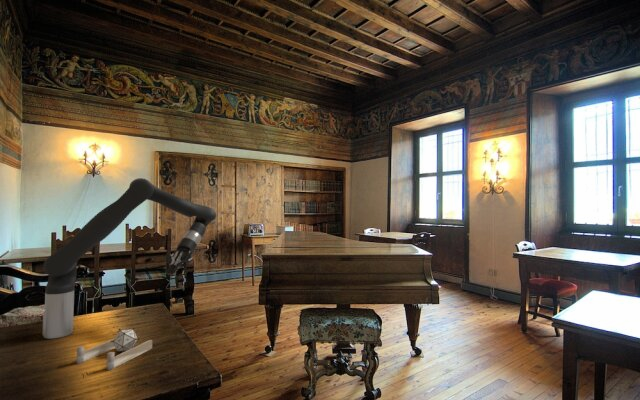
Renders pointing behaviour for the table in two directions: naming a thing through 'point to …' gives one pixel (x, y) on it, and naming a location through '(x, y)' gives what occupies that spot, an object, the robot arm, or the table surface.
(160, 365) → the table surface
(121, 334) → the game die
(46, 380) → the table surface
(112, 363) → the chute
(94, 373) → the table surface
